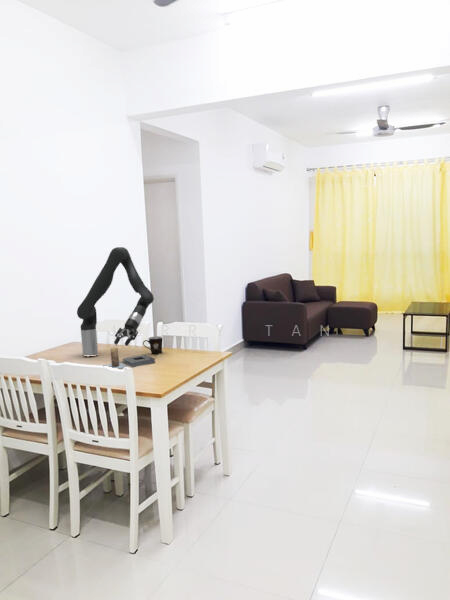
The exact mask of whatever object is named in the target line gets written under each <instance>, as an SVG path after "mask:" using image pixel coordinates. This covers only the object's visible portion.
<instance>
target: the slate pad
mask: <svg viewBox="0 0 450 600" xmlns="http://www.w3.org/2000/svg"><path fill="white" fill-rule="evenodd" d="M107 365H109V366H108V367H112V363H108V364H107V363H106V364H103V365H102V367H104V366H107ZM124 367H128V368H129V365H127V364H125V363H122V362H120V361H119V366H117V367H112V368H118V369H119V370H123V369H122V368H124Z"/></svg>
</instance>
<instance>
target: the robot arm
mask: <svg viewBox="0 0 450 600" xmlns="http://www.w3.org/2000/svg"><path fill="white" fill-rule="evenodd" d="M120 264H121V266H123V268H124V270H125V272H126V276H127V279H128V282H129V284H130V286H131V288H132V289H133V291H134V292H135V293H136V294H139V296H140V297H139V298H138V301H137V303H136V305H135V307H134V309H133V310H132V312H131V313H130V315H129V316H128V317H127V319H126V322H125V323H124V326H123V328H121V327H119V328H118V330H117V332H116V333H115V334H114V337H115V339H114V343H113V344H114V345H116V346H117V345H118V344H119V342H120V341H121V339H122V338H127V339H126V341H125V342H124V346H126V347H128V346H129V345H130V343H131V341H135V339H136V338H137V336H138V334H139V330H138V328H139V326H140V325H141V323H142V320H143V319H144V316H145V314H146V312H147V309H148V307H149V306H150V305H151V304H152V303H153V302H154V299H155V298H154V295H153V293H152V292H151V290H150V289H149V288H148V287H147V286H146V285H145V283H144V281H143V279H142V278H141V277H140V274H139V273H138V270H137V269H136V266H135V264H134V261H133V260H132V257H131V254H130V253H129V250H128V249H127V248H126V247H122V246H119V247H114V248H112V250H111V251H110V253H109V255H108V257H107V259H106V261H105V264H104V266H103V267H102V269H101V270H100V271H99V273H98V274H97V277H96V278H95V280H94V282H93V283H92V286H91V287H90V289H89V291H88V293H87V294H86V296H85V297H84V299H83V301H82V302H81V303H80V304H79V306H78V307H77V310H76V315H77V317H78V318H79V319H81V320H82V322H81V324H80V334H81V336H80V337H81V346H82V347H81V348H82V356H83V355H97V354H98V355H99V348H98V336H97V323H98V319H97V309H96V306H95V305H96V304H97V303H98V301H100V299H101V298H102V297H103V296H104V295H105V294H106V293H107V291H108V290H109V288H110V287H111V285H112V283H113V281H114V280H113V279H114V274H115V271H116V270H117V268H118V266H119V265H120Z"/></svg>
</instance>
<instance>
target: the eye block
mask: <svg viewBox="0 0 450 600" xmlns="http://www.w3.org/2000/svg"><path fill="white" fill-rule="evenodd" d="M155 359H156V358H154V357H151V356H150V355H147V354H141V355H136V356H130V357H124V358H122V362H123V363H122V364H124V365H126V366H128V367H131V368H135V367H140V366H145V365H151V364H152V365H153V364H155V363H156V360H155Z"/></svg>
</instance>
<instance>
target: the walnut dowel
mask: <svg viewBox="0 0 450 600" xmlns="http://www.w3.org/2000/svg"><path fill="white" fill-rule="evenodd" d="M110 358H111V359H110V360H111V361H110V362H111V364H112V367H117V366H119V362H120V360H119V349H118V347H112V348H110Z"/></svg>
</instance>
